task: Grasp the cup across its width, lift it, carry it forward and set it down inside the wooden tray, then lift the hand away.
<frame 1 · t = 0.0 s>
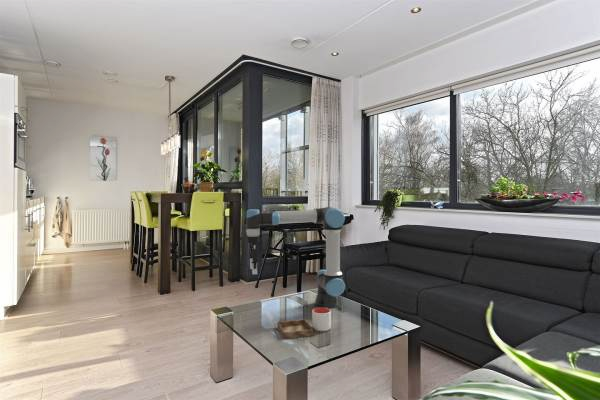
hand: (253, 271, 209), 28 cm above the table, fingers open, 13 cm apart
cup: (321, 329, 194), on the table
wooden tray: (294, 331, 190), on the table
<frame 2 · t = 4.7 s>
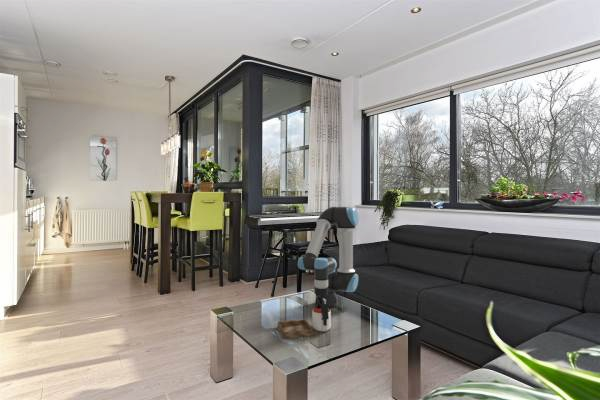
hand: (321, 327, 194), 1 cm above the table, fingers closed on cup, 10 cm apart
cup: (321, 328, 194), on the table, touching gripper
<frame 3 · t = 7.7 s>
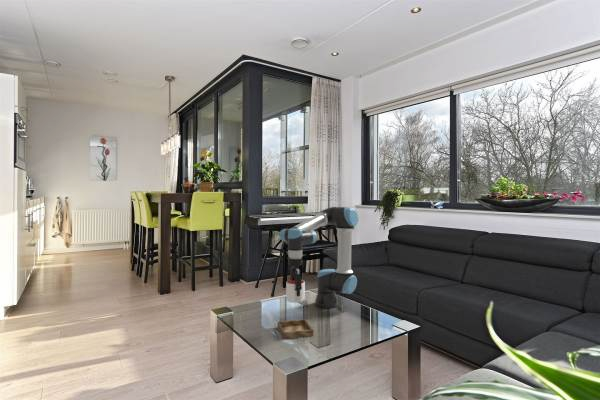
hand: (295, 298, 190), 18 cm above the table, fingers closed on cup, 10 cm apart
cup: (295, 300, 190), point 17 cm above the table, touching gripper
when the fingers open (4 cm above the table, at t = 10.7 s): cup drops 2 cm, resting on wooden tray.
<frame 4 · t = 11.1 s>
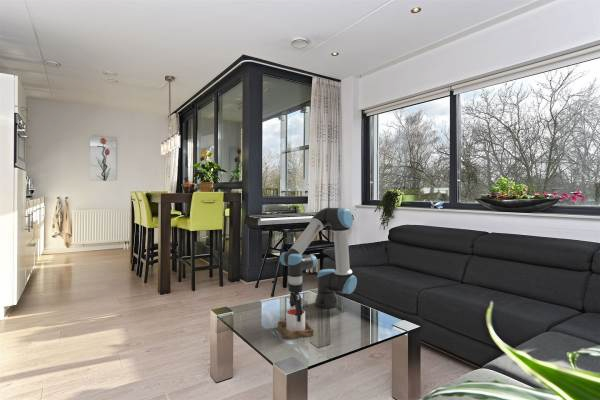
hand: (295, 322, 190), 5 cm above the table, fingers open, 13 cm apart
cup: (295, 330, 190), resting on wooden tray
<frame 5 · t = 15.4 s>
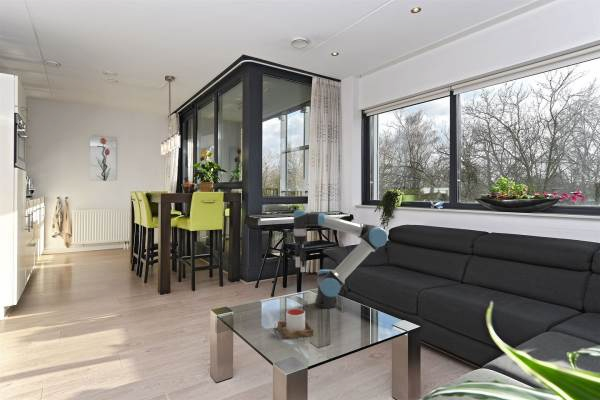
hand: (300, 269, 219), 27 cm above the table, fingers open, 13 cm apart
nothing on the table moved.
at the end: cup inside the target area on the wooden tray (0.5 cm from its centre), point 0.2 cm above the wooden tray's base; cup tilted 0°; the gripper is holding nothing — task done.
